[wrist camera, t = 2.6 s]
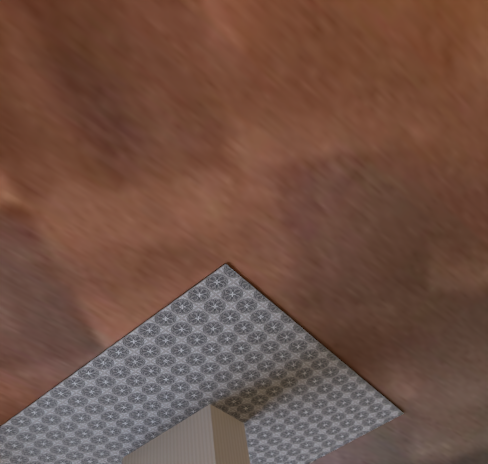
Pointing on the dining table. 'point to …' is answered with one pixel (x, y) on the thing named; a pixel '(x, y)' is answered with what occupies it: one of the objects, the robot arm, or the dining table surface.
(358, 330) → the dining table surface
